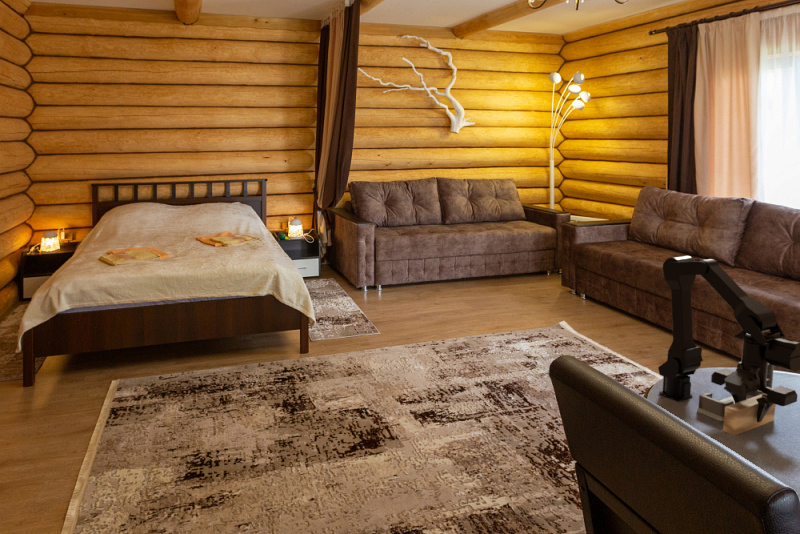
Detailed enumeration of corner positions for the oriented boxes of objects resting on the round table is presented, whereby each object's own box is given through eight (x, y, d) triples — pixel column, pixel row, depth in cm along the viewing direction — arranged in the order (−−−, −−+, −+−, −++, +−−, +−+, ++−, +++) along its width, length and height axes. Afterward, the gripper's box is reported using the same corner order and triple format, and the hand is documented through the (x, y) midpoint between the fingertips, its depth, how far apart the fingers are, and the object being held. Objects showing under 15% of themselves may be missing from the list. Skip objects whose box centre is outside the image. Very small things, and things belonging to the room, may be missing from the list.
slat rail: (697, 411, 165) (698, 395, 164) (745, 394, 175) (746, 379, 174) (721, 421, 159) (722, 404, 158) (770, 403, 169) (771, 387, 168)
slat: (723, 431, 154) (725, 406, 152) (762, 416, 161) (764, 393, 160) (734, 436, 151) (736, 411, 150) (773, 421, 159) (776, 397, 157)
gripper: (699, 354, 157) (695, 412, 160) (773, 377, 141) (767, 441, 144) (726, 347, 162) (722, 403, 165) (801, 367, 146) (795, 429, 149)
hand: (749, 418), depth 156 cm, fingers open, 4 cm apart
